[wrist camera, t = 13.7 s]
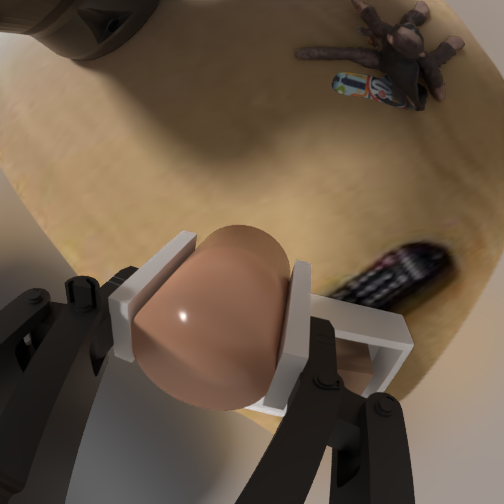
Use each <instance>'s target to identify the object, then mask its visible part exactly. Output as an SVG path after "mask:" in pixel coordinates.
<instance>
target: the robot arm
mask: <svg viewBox="0 0 504 504" xmlns="http://www.w3.org/2000/svg"><path fill="white" fill-rule="evenodd" d="M158 2H159V0H0V32H6V33H16V34H25V35H30V36H32V37H33V38H35V39H36V40H38V41H39V42H41V43H42V44H43V45H45V46H46V47H48V48H49V49H50V50H52V51H53V52H55V53H56V54H58V55H60V56H62V57H66V58H71V59H77V60H90V59H95V58H98V57H101V56H103V55H106V54H108V53H110V52H111V51H113V50H115V49H116V48H118V47H119V46H121V45H122V44H123V43H125V42H126V41H127V40H128V39H130V38H131V37H132V36H133V35H134V34H135V33H136V32H137V31H138V30H139V29H140V28H141V27H142V26H143V24H144V23H145V22H146V21H147V19H148V18H149V17H150V15H151V14H152V12H153V11H154V9H155V8H156V6H157V4H158ZM196 239H197V234H196V233H192V232H188V231H184V230H183V231H182V232H180V233H179V234H178V235H177V236H176V237H175V238H173V239H172V240H171V241H170V242H169V243H168V244H166V245H165V246H164V247H163V248H162V249H161V250H160V251H158V252H157V253H156V254H155V255H154V256H153V257H152V258H150V259H149V260H148V261H147V262H146V263H145V264H144V265H143V266H142V267H140V268H136V267H133V266H130V267H127V268H125V269H122V270H120V271H119V272H118V273H117V274H116V275H114V277H112V278H111V279H110V280H109V281H108V282H106V283H105V284H104V285H103V286H102V287H100V285H99V283H98V281H97V280H96V279H94V278H92V277H89V276H77V277H73V278H71V279H69V280H67V281H66V282H65V288H66V295H67V301H68V303H67V304H63V303H57V302H51V298H50V294H49V292H48V291H46V290H45V289H41V288H33V289H29V290H27V291H25V292H24V293H22V294H21V295H20V296H18V297H17V298H16V299H14V300H13V301H12V302H11V303H9V304H8V305H7V306H5V307H4V308H3V309H2V310H0V504H65V500H66V495H67V491H68V487H69V483H70V479H71V475H72V471H73V467H74V464H75V460H76V456H77V453H78V449H79V446H80V442H81V439H82V436H83V432H84V429H85V426H86V423H87V420H88V417H89V414H90V411H91V407H92V404H93V402H94V399H95V396H96V393H97V390H98V388H99V385H100V382H101V379H102V376H103V374H104V371H105V368H106V366H107V363H108V351H109V350H110V348H111V347H112V346H113V347H114V354H115V356H117V357H119V358H121V359H124V360H126V361H128V362H131V363H132V362H133V361H134V359H135V356H134V354H133V351H132V338H131V325H132V322H133V320H134V318H135V316H136V315H137V313H138V312H139V311H140V310H141V309H142V308H143V306H144V305H145V304H146V303H147V302H148V301H149V300H150V299H151V298H152V296H153V295H154V294H155V293H156V292H157V291H158V290H159V289H160V288H161V286H162V285H163V284H164V283H165V282H166V281H167V280H168V279H169V278H170V277H171V275H172V274H173V273H174V272H175V271H176V270H177V269H178V268H179V267H180V266H181V265H182V264H183V262H184V261H185V260H186V259H187V258H188V257H189V256H190V255H191V254H192V253H193V252H194V251H195V246H196ZM310 305H311V263H308V262H304V261H300V260H295V264H294V267H293V271H292V274H291V277H290V281H289V287H288V294H287V301H286V308H285V314H284V321H283V327H282V333H281V340H280V346H279V352H278V358H277V364H276V369H275V374H274V377H273V379H272V382H271V384H270V387H269V390H268V392H267V394H266V395H265V397H264V401H263V406H267V407H271V408H276V409H280V410H284V409H285V407H286V405H287V409H286V413H285V415H284V417H283V419H282V421H281V423H280V425H279V427H278V428H277V431H276V433H275V434H274V436H273V438H272V440H271V442H270V444H269V446H268V448H267V449H266V451H265V453H264V455H263V457H262V458H261V460H260V462H259V464H258V465H257V467H256V469H255V471H254V472H253V474H252V476H251V478H250V479H249V481H248V483H247V484H246V486H245V488H244V489H243V491H242V493H241V494H240V496H239V497H238V499H237V500H236V502H235V504H304V502H305V500H306V497H307V495H308V493H309V490H310V488H311V485H312V483H313V480H314V478H315V475H316V473H317V470H318V468H319V465H320V462H321V460H322V457H323V454H324V451H325V449H326V446H327V445H328V446H330V447H332V466H331V485H330V498H329V504H415V497H414V486H413V477H412V469H411V460H410V453H409V446H408V440H407V434H406V428H405V422H404V417H403V412H402V408H401V405H400V403H399V402H398V401H397V400H396V399H395V398H394V397H393V396H391V395H390V394H387V393H384V392H375V393H373V394H370V395H369V397H368V398H365V397H363V396H360V395H358V394H356V393H354V392H352V391H350V390H348V389H347V388H346V387H345V386H344V381H343V379H342V377H341V376H340V375H339V374H338V373H337V356H336V347H335V346H336V340H335V329H334V327H333V326H332V324H331V322H330V321H329V320H326V319H322V318H318V317H313V316H310ZM27 334H28V335H29V338H30V341H29V342H27V343H25V342H24V339H23V338H24V337H25V336H26V335H27Z"/></svg>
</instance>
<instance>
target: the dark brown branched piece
mask: <svg viewBox="0 0 504 504" xmlns="http://www.w3.org/2000/svg"><path fill="white" fill-rule="evenodd" d="M351 1H352V3H353V5H354V6H355V8H356V9H357V10H358V12H359V14H360V16H361V18H362V20H363V21H364V22H365V23H366V24H367V25H368V27H369V29H364V28H362V27H358V30H359V33H360V34H362V35H364V36H368V37H370V41H368V43H369V44H370V45H371V46H373V47H377V46H378V45H379V43H378V41H377V37H378V38H379V40H380V41H381V42H382V50H381V52H378V51H375V50H371V49H366V48H337V47H306V48H299V49H296V50H295V55H296V56H297V57H298V58H301V59H306V60H312V59H326V60H334V59H338V60H342V59H346V60H351V61H354V62H356V63H358V64H361V65H362V66H365V67H368V68H375V69H378V70H380V71H382V72H384V73H386V75H385V76H384V77H383V78H375V77H373V76H370V75H363V74H356V73H352V72H340V73H338V74H337V75H336V76H335V77H334V79H333V83H332V87H333V88H334V89H335V91H337V92H338V93H340V94H343V95H350V96H358V97H365V98H369V99H373V100H376V101H379V102H382V103H386V104H389V105H392V106H395V107H399V108H404V109H409V110H412V109H415V110H416V111H419V110H421V111H423V110H425V103H426V99H427V97H428V92H427V90H426V88H425V87H424V86H422V85H421V84H419V83H417V81H418V78H419V74H420V76H421V77H422V78H423V80H424V81H425V83H426V84H427V87H428V89H429V91H430V93H431V95H432V96H433V97H434V98H435V99H437V100H438V101H440V102H441V101H443V100H444V99H445V84H444V82H443V78H442V75H441V73H440V70H439V68H440V67H441V65H442V64H445V63H446V61H447V60H449V59H450V58H451V57H452V56H453V55H455V54H456V51H457V50H460V49H462V48H463V47H464V45H465V43H464V41H463V40H462V39H461V38H460V37H456V36H450V37H448V38H447V40H446V41H445V42H442V43H441V44H440V46H439V47H438V48H437V49H436V50H435V51H433V52H431V53H427V52H425V51H424V45H423V43H424V40H423V37H422V36H421V34H420V33H419V30H418V29H417V26H420V25H422V24H423V23H424V22H425V20H426V19H427V16H428V15H429V8H428V6H427V4H426V3H425V2H423V1H418V2H417V4H416V6H415V9H414V10H411V11H410V12H409V13H408V14H406V15H404V16H403V18H402V20H401V24H400V25H395V26H394V27H392V26H391V25H389V24H387V23H384V22H383V21H382V20H381V19H380V17H379V16H378V14H377V13H376V10H375V8H374V7H372V6H369V5H367V4H365V3H364V2H363V1H362V0H351Z"/></svg>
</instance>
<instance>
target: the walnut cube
mask: <svg viewBox="0 0 504 504" xmlns="http://www.w3.org/2000/svg"><path fill="white" fill-rule="evenodd" d="M335 340H336V346H335V347H336V356H337V373H338V374H339V375H340V376H341V377H342V379H343V381H344V386H345V387H346V388H347V389H348V390H350V391H352V392H354V393H356V394H358V395H360V396H361V395H362V393H363V391H364V390H365V388H366V387H367V385H368V383H369V382H370V380H371V378H372V377H373V375H374V374H373V368H372V363H371V357H370V352H369V347H368V344H367V343H362V342H357V341H352V340H347V339H342V338H338V337H335Z"/></svg>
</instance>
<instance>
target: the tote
mask: <svg viewBox="0 0 504 504" xmlns="http://www.w3.org/2000/svg"><path fill="white" fill-rule="evenodd" d="M310 316H313V317H318V318H322V319H326V320H329V321H330V322H331V324H332V326H333V327H334V329H335V337H338V338H342V339H347V340H352V341H357V342H362V343H367V344H368V347H369V352H370V357H371V363H372V368H373V374H374V375H373V377H372V378H371V380H370V382H369V383H368V385H367V387H366V388H365V390H364V391H363V393H362V395H361V396H363V397H365V398H368V397H369V395H370V394H373V393H375V392H384V391H385V390H386V388H387V387H388V385H389V384H390V382H391V381H392V379H393V378H394V377H395V375H396V374H397V372H398V370H399V369H400V367H401V366H402V364H403V363H404V361H405V360H406V358H407V356H408V355H409V353H410V352H411V350H412V348H413V347H414V343H413V340H412V338H411V335H410V332H409V330H408V327H407V325H406V322H405V320H404V317H403V315H400V314H396V313H392V312H387V311H383V310H379V309H374V308H370V307H366V306H361V305H357V304H353V303H349V302H345V301H340V300H336V299H332V298H328V297H324V296H320V295H316V294H312V293H311V305H310ZM264 397H265V396H264ZM264 397H263V398H262V399H261V400H259V401H257V402H256V403H254V404H252V405H250V406H248V407H244V408H246V409H250V410H254V411H258V412H263V413H267V414H271V415H276V416H281V417H284V415H285V413H286V409H287V405H286V407H285V409H284V410H280V409H276V408H271V407H267V406H263V401H264Z"/></svg>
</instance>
